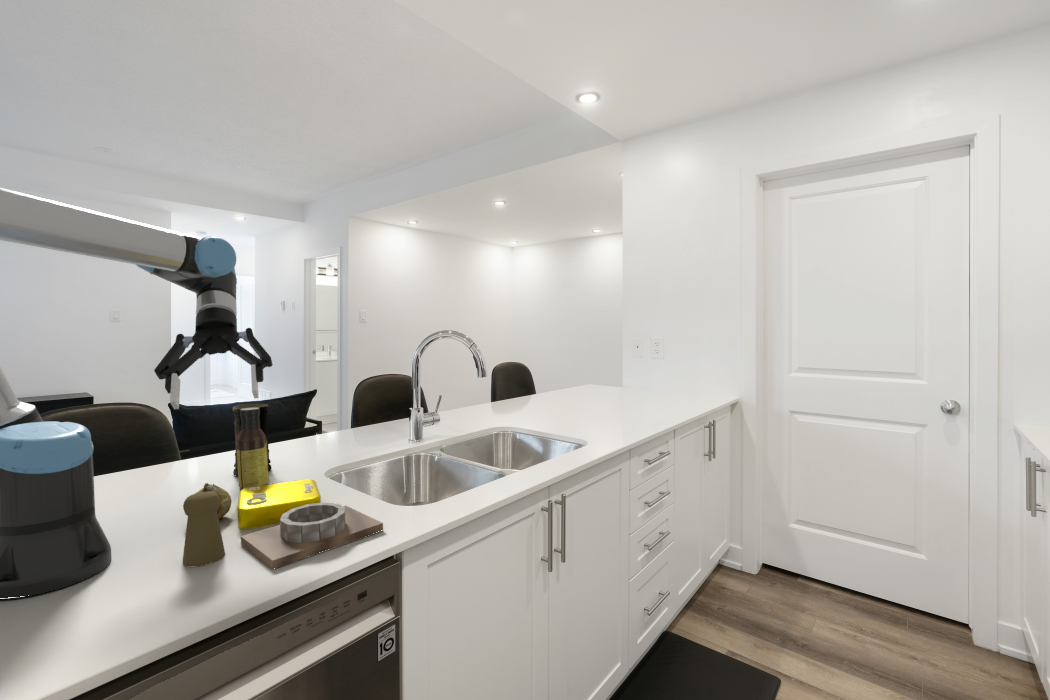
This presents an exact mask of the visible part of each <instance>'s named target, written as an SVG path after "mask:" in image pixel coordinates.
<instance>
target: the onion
mask: <svg viewBox="0 0 1050 700" xmlns="http://www.w3.org/2000/svg"><path fill="white" fill-rule="evenodd" d="M200 492H215V493H217V494H218V495H219V497H220V507H219V508H218V510H217V515H218V520H219V521H220V520H221V519H222V518H223V517H224V516H226V515H227V514H228V512H230V509H231V506H232V498H231V495H230V494H229V492H228V491H227V490H225V489H224V488H222V487H220V486H218V485H215V484H214V483H212V484H209V483H208V482H207V483H206V482H205V483H204V485H203V487H202V488H201V489H200V490H198V491H197V492H195V493H194V494H196V493H200Z"/></svg>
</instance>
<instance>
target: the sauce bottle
mask: <svg viewBox="0 0 1050 700" xmlns="http://www.w3.org/2000/svg"><path fill="white" fill-rule="evenodd" d="M259 415H260V408H244V409H241V410H240V416H241V421H242V426H241V427H242V430H241V432H240V433H239V435H238V437H237V465H238V476H237V478H238V480H237V482H238V488H239V492H240V491H241V490H242V489H244V488H248V487H255V486H262V485H269V482H270V475H269V473H270V472H268V455H267V440H266V436H265V434H264V432H263V431H262V430H261V428H260V419H259ZM239 492H238V493H239Z"/></svg>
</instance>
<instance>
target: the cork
mask: <svg viewBox="0 0 1050 700" xmlns="http://www.w3.org/2000/svg"><path fill="white" fill-rule="evenodd" d="M195 493H196V494H195ZM195 493H194V494H191V495H188V496H187V497H186V498H185V499H184V502H183V506H182V507H183V511H184V512H183V513H184V514H185V515H186V517H187V519H186V520H187V521H186V529H185V537H184V538H185V539H184V546H183V554H182V565H183V566H185V567H188V566H190V567H191V566H197V567H202V566H201V565H203V566H207V565H210V563H211V564H213V563H216V562H218V561H219V559H220V560H222V559H223V558H224V557H225V556H226V552H225V546H224V541H223V536H222V531H221V525H220V519H219V520H218V515H217V510H218V508H219V507H220V497H219V495H218V494H217V493H215V492H200V493H197V492H195ZM206 564H207V565H206Z"/></svg>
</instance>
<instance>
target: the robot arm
mask: <svg viewBox="0 0 1050 700" xmlns="http://www.w3.org/2000/svg"><path fill="white" fill-rule="evenodd" d="M0 241H2V242H3V241H4V242H9V243H14V244H20V245H25V246H30V247H36V248H43V249H47V250H53V251H59V252H64V253H71V254H77V255H80V256H87V257H93V258H98V259H102V260H103V259H104V260H108V261H109V260H110V261H114V262H119V263H126V264H131V265H136V267H138V268H140V269H141V270H144V271H145V272H147V273H149V274H150V275H154V276H155V277H158V278H161V279H163V280H164V281H168V282H170V283H172V284H174V285H176V286H179V287H181V288H184V289H185V290H188V291H190V292H193V293H195V294H196V304H195V305H196V306H195V331H194V334H193V336H186V335H185V336H184V334H182V333H177V334H176V338H175V342H174V343H173V345H171V347H170V349H169V350H168V351H167V353H166V354H165V355H164V356H163V358H162V359H161V361H160V362H159V363H158V364H157V365H156V367H155V368H154V371H153V372H154V373H155V375H156V377H157V378H158V379H159V380H164V379H165V381H164V382H165V383H164V389H165V390H166V392H167V394H169V395H170V396H169V404H170V405H171V407H172V409H173V410H179V409H180V395H181V380H180V378H179V377H180V376H181V375H183V373H184V372H186V370H188V369H189V368H190V367H192V366H193V364H195V363H196V362H197V361H198V360H199V359H203V358H204V357H205V355H207V354H208V355H211V356H212V355H215V354H216V355H217V354H227V352H230V353H232V354H233V355H236V356H237V357H239V358H240V359H241V360H243V361H244V362H245V363H247V364H248V365H250V374H251V375H250V377H251V378H250V379H251V380H250V381H251V393H252V396H253V398H254V399H258V398H259V383H263V381H264V369H265V368H267V367H268V368H271V367H272V366H273V361H272V357H271V355H270V354H269V353H268V352H267V350H266V349H265V348H264V347H263V345H262V344H261V343H260V342H259V341H258V339H257V338H256V337H255V335H254V332H253V329H252V327H247V328H246V329H245V330H244V331H239V332H238V324H237V323H238V319H237V313H238V312H237V311H238V309H237V308H238V307H237V284H238V283H237V282H238V281H237V280H238V279H237V275H236V274H237V273H236V269H235V267H236V264H237V253H236V251H235V249H234V247H233V245H231V243H229V241H227V240H225V239H224V238H221V237H219V236H218V237H216V236H204V237H199V236H196V235H192V234H187V233H182V232H179V231H175V230H171V229H167V228H163V227H160V226H155V225H151V224H147V223H142V222H140V221H139V222H138V221H136V220H130V219H129V218H128V219H126V218H123V217H120V216H115V215H111V214H107V213H103V212H100V211H95V210H91V209H87V208H83V207H80V206H75V205H71V204H66V203H64V202H59V201H56V200H51V199H47V198H42V197H40V196H36V195H31V194H27V193H23V192H20V191H15V190H12V189H7V188H3V187H0ZM240 339H241V340H242V339H243V341H244V342H246V343H248V345H249V346H250V347H251V349H253V351H254V352H255V354H256V355H257V356H258V357H259V358H258V357H257V356H256V355H254V354H253V353H252V352H250V351H249V350H247V349H246V348H244V347H243V345H240V344H239V343H238V342H239V341H240ZM191 344H192V345H191ZM190 345H191V347H190V349H189V350H188V351H187V352H185V351H186V349H188V348H189V346H190ZM93 453H94V444H93V441H92V435H91V432H90V430H89V428H87V427H86V426H85V425H82V424H80V423H77V422H71V421H64V422H63V421H62V422H60V421H59V420H58V421H54V420H53V421H44V419H43V418H42V417H41V415H40V413H39V411H38V408H37V407H36V405H34V404H31V403H28V402H24V401H21V400H19V399H18V397H17V396H16V394H15V392H14V390H13V388H12V387H11V385H10V383H9V381H8V380H7V377H6V375H5V374H4V372H3V370H2V368H1V367H0V598H8V597H20V596H28V595H34V596H36V595H35V594H38V595H42V594H41V593H43V594H46V593H45V592H47V593H50V592H53V590H54V591H58V590H61V589H63V588H67V587H69V586H71V585H75V584H77V583H80V582H82V581H84V580H86V579H89V578H91V577H92V576H94V575H96V574H98V573H100V572H101V571H103V570H104V569H106V568H107V567H108V566H109V565H110V563H111V562H112V546H111V543H110V542H109V540H108V538H107V536H106V534H105V532H104V530H103V528H102V526H101V525H100V522H99V521H98V519H97V516H96V505H95V503H96V502H95V497H96V496H95V481H94V480H95V478H94V475H95V474H94V456H93ZM49 591H50V592H49Z"/></svg>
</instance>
